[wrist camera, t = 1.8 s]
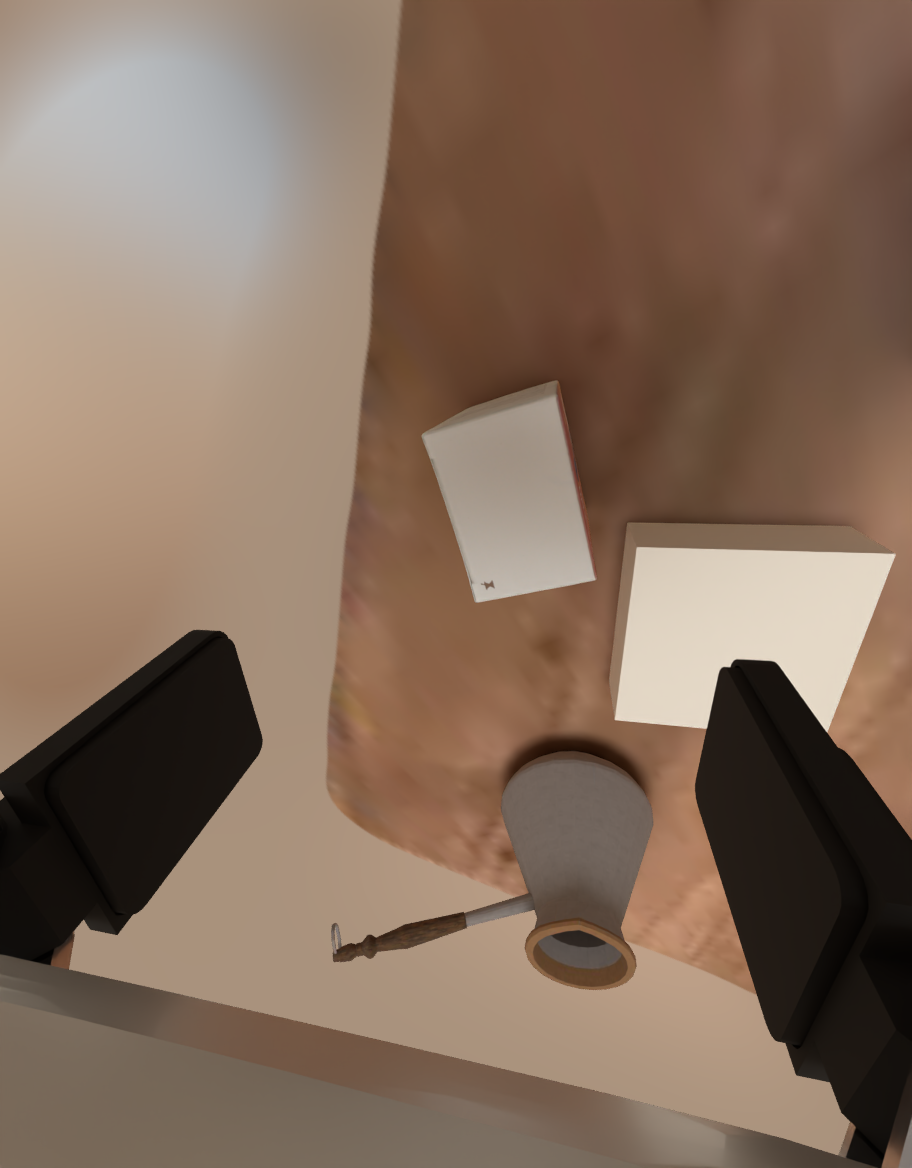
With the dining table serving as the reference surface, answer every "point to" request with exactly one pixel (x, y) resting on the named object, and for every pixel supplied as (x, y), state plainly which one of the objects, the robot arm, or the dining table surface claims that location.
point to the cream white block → (739, 613)
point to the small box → (514, 494)
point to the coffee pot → (559, 871)
